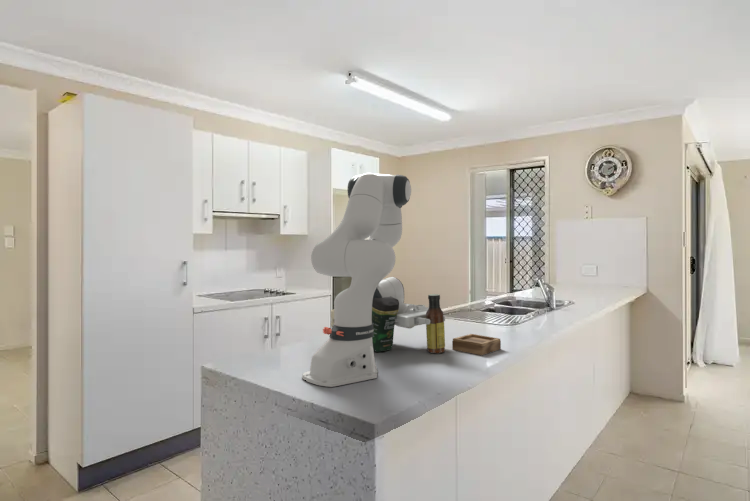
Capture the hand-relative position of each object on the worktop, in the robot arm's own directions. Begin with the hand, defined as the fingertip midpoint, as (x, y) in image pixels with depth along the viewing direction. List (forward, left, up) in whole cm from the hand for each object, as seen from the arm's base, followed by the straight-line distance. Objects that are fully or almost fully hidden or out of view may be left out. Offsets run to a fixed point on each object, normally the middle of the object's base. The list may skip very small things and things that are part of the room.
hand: (437, 320), depth 158 cm
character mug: (-16, +33, -11) cm, 38 cm away
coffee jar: (-12, +17, -10) cm, 23 cm away
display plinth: (+13, -7, -11) cm, 18 cm away
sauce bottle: (0, +1, -11) cm, 11 cm away
